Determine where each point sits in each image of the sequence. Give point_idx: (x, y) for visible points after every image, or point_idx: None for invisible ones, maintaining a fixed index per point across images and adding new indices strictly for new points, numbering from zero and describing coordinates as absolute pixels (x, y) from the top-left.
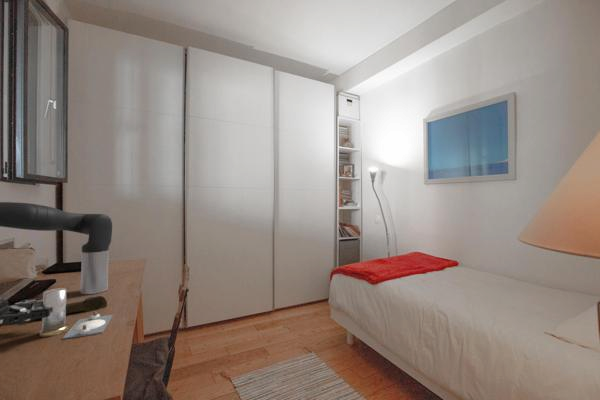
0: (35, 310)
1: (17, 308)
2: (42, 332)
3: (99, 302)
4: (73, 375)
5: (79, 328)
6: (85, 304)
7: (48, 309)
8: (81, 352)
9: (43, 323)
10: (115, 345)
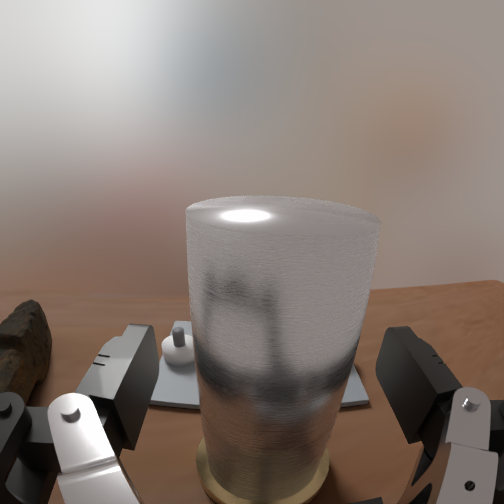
0: (442, 372)
1: (480, 501)
2: (319, 483)
3: (43, 326)
4: (500, 315)
5: None
6: (28, 355)
7: (404, 327)
8: (441, 332)
9: (318, 459)
10: (404, 298)
